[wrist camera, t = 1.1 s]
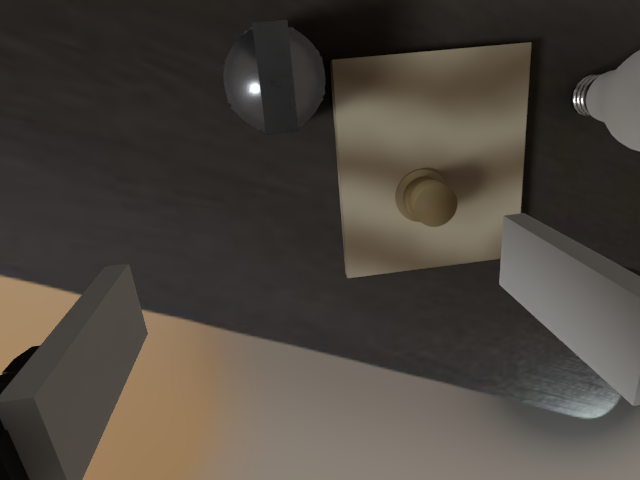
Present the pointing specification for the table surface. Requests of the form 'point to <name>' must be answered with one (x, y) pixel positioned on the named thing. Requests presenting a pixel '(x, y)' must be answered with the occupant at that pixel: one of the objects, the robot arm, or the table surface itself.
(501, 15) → the table surface
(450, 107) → the socket base
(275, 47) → the dark grey rounded piece
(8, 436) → the robot arm
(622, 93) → the light bulb
